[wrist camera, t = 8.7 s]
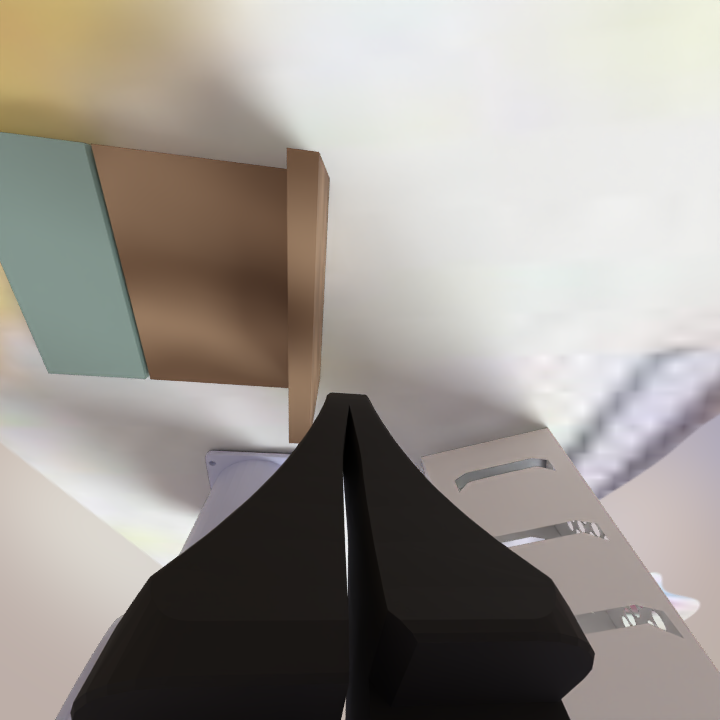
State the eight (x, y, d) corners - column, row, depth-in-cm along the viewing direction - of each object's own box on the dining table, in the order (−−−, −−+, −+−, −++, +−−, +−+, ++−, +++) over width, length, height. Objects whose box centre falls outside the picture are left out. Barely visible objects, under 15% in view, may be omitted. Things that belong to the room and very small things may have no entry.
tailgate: (145, 378, 18) (48, 373, 17) (157, 369, 19) (66, 363, 18) (83, 142, 12) (-59, 124, 12) (105, 149, 14) (-24, 132, 13)
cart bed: (320, 378, 20) (309, 443, 14) (164, 368, 19) (84, 433, 13) (329, 178, 15) (318, 152, 9) (115, 150, 14) (-51, 102, 8)
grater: (547, 427, 23) (1248, 1151, 5) (544, 509, 28) (909, 1041, 10) (420, 457, 24) (645, 1171, 6) (438, 531, 28) (594, 1059, 11)
